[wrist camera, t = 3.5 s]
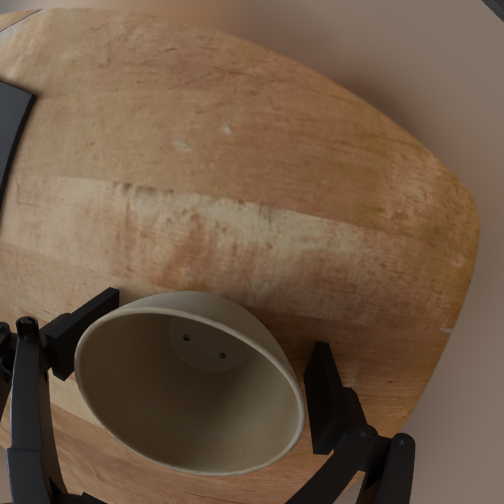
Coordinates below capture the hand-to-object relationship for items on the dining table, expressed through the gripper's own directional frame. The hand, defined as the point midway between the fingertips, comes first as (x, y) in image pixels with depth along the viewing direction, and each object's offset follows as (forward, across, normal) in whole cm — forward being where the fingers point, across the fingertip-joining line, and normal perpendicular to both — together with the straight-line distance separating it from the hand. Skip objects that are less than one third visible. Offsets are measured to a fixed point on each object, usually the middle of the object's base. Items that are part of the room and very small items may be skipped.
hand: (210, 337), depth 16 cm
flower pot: (0, 0, 0) cm, 0 cm away
